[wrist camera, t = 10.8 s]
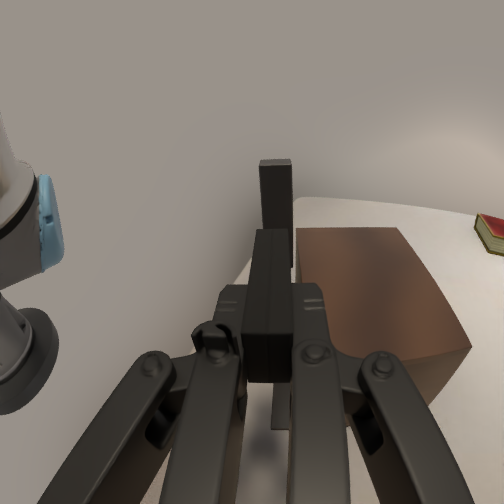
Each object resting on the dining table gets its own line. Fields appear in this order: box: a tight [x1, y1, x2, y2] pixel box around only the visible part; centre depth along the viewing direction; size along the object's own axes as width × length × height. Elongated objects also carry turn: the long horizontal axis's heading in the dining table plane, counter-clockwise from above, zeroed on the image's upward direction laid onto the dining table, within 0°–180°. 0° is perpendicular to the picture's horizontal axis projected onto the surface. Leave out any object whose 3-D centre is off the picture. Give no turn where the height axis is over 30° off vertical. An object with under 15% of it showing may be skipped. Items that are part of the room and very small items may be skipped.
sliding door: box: [259, 159, 293, 269], centre depth 27 cm, size 2×9×18 cm, turn 175°
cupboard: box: [271, 227, 472, 430], centre depth 24 cm, size 14×18×10 cm
